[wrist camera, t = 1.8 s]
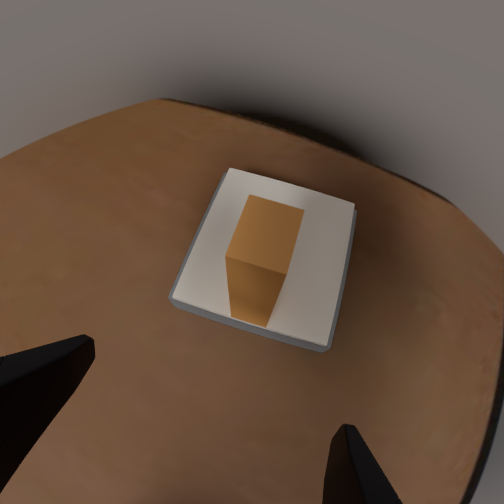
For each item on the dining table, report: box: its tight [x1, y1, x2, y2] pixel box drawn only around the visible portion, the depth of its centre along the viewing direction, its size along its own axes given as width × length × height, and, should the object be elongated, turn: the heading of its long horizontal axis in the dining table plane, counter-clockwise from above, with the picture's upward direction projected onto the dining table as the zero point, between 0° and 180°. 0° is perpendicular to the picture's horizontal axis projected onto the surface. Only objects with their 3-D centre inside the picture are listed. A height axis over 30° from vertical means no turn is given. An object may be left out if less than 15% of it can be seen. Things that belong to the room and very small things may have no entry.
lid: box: [172, 168, 355, 346], centre depth 19 cm, size 12×11×10 cm
